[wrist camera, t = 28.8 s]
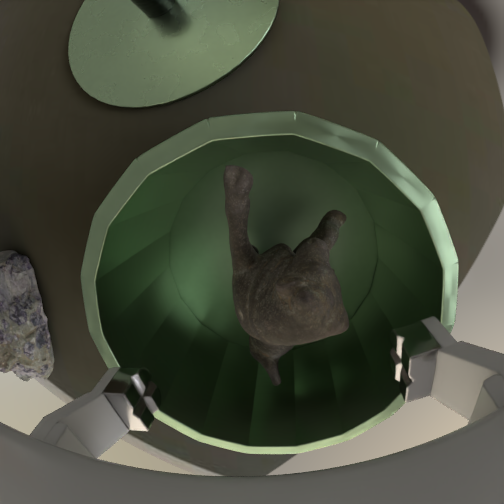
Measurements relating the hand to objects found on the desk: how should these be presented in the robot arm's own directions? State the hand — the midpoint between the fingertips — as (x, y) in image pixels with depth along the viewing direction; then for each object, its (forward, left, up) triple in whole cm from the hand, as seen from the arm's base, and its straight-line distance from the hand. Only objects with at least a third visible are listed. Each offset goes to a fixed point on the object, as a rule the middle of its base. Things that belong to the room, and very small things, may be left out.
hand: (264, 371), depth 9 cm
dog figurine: (-2, -2, -7) cm, 8 cm away
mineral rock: (+26, 0, -12) cm, 29 cm away
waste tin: (0, 0, -11) cm, 11 cm away
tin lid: (+3, -20, -11) cm, 23 cm away
